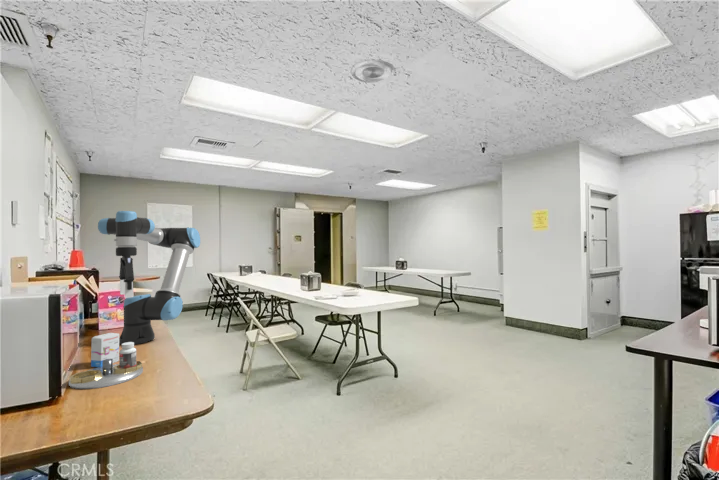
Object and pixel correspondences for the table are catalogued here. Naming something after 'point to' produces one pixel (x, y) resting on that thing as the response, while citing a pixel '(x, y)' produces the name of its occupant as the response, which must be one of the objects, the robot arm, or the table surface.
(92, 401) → the table surface
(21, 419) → the table surface
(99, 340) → the ink box
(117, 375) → the carrier
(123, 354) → the pill bottle
